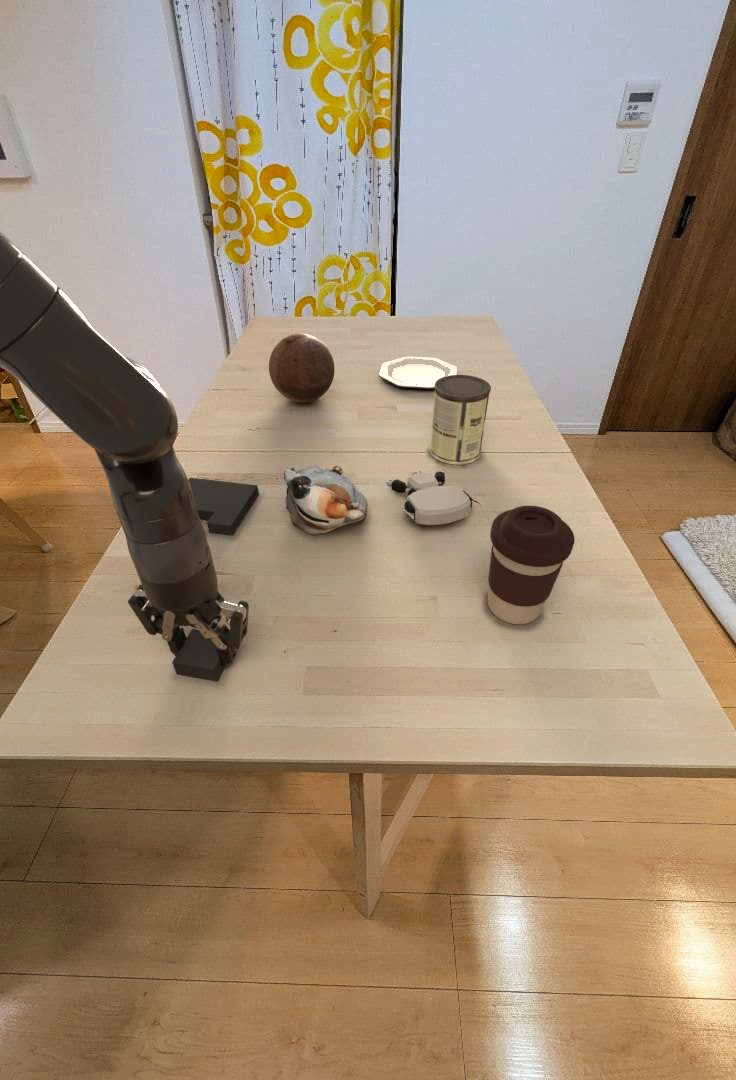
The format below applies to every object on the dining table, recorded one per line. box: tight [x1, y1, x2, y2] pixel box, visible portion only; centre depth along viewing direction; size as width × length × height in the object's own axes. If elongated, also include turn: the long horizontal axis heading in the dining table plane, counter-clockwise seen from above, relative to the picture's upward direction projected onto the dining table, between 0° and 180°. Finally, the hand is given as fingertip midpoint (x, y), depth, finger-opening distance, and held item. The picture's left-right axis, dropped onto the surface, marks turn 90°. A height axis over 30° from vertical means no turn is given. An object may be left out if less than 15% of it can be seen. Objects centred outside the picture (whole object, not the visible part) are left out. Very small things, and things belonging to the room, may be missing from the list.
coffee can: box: [429, 374, 492, 466], centre depth 100 cm, size 10×10×14 cm
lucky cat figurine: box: [282, 465, 368, 536], centre depth 83 cm, size 15×12×14 cm
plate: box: [378, 356, 458, 390], centre depth 134 cm, size 20×20×2 cm
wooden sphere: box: [268, 333, 336, 403], centre depth 119 cm, size 15×15×15 cm
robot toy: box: [385, 470, 483, 526], centre depth 89 cm, size 12×4×15 cm
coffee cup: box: [487, 505, 576, 625], centre depth 67 cm, size 10×10×15 cm
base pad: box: [188, 477, 260, 536], centre depth 89 cm, size 13×12×2 cm
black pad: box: [171, 619, 230, 683], centre depth 65 cm, size 5×8×2 cm, turn 169°
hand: (205, 657), depth 65 cm, fingers closed on black pad, 5 cm apart
